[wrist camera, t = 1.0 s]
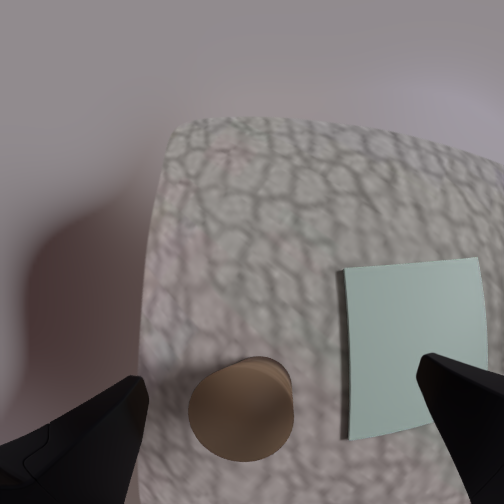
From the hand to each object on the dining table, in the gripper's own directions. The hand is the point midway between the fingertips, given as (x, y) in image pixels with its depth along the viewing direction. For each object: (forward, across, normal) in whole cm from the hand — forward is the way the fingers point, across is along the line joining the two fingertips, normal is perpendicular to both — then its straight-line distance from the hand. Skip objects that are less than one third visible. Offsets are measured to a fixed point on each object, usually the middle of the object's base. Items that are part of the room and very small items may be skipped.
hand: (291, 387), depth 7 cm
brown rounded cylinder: (+11, +1, +9) cm, 14 cm away
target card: (+10, -13, +6) cm, 18 cm away
